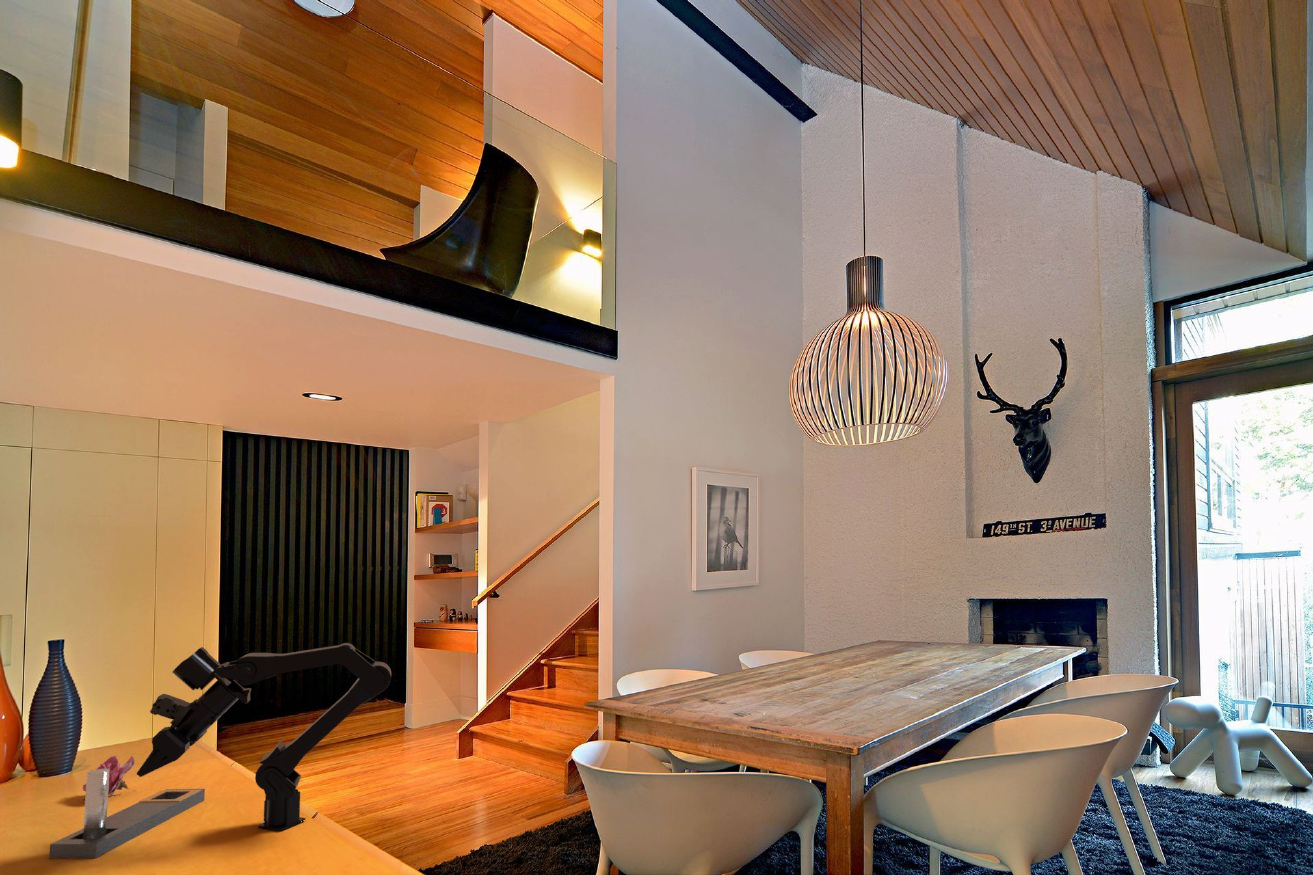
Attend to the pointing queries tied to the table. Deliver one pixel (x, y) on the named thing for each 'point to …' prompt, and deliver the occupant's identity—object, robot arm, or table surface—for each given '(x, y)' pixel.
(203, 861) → the table surface
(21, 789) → the table surface
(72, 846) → the rail
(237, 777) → the table surface
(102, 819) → the peg
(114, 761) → the flower
